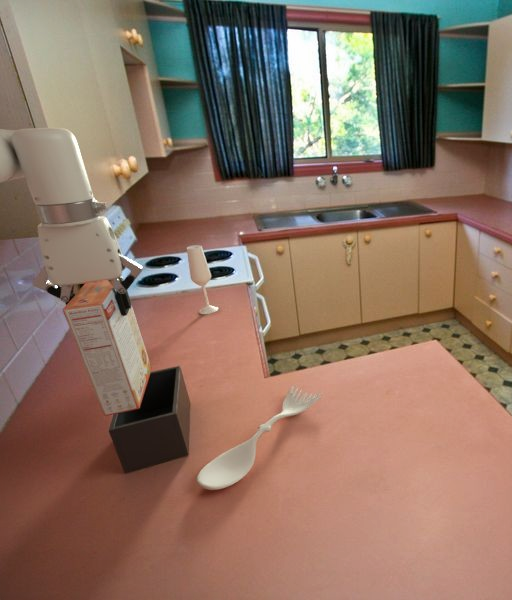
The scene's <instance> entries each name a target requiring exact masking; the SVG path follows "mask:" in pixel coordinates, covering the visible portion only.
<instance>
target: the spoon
mask: <svg viewBox="0 0 512 600" xmlns="http://www.w3.org/2000/svg"><path fill="white" fill-rule="evenodd" d="M295 388H296V384H293V385H292V386H291V387H290V388H289V390H288V392H287V394H286V395H285V398H284V399H283V401H282V405H281V412H280V413H278V414H275V415H274V416H272V417H271V418H270V419H269V420H267V421H266V422H264V423H261V424H259V425H258V430H257V432H256V433H254V435H253V436H251V437H250V438H249V439H248V440H247V439H246V441H244V442H242V443H240V444H238V445H236V446H234V447H232V448H230V449H228V450H226V451H224V452H223V453H221V454H219V455H218V456H216V457H214V458H213V459H212V460H210V461H209V462H208V463H207V464H205V465H204V466H203V467H202V468H201V470H200V471H199V473H198V474H197V477H196V481H197V484H198V485H199V486H200V487H201V488H203V489H205V490H208V491H217V490H222V489H223V490H224V489H226V488H229V487H230V486H232V485H234V484H236V483H237V482H239V481H241V480H242V479H243V478H244V477H245V476H246V475H247V474H248V473H249V471H251V469H252V468H253V466H254V464H255V459H256V454H257V453H256V452H257V451H256V450H257V442H258V440H259V438H260V437H261V435H263V434H264V433H267V432H270V431H271V430H272V429H273V428H272V426H273V425H274V424H275V423H276V422H278V421H279V420H281V419H284V418H289V417H293V416H296V415H300V414H302V413H304V412H305V411H308V409H310V407H312V406H313V405H314V404H315V403H317V402H318V401H319V400H320V399H321V397H322V395H323V392H320V393H317V392H316V393H313V392H311V393H310V394H309V395H308V391H306V392H305V393H303V389H300V391H298V390H299V387H297V388H296V389H295ZM302 393H303V394H302ZM301 394H302V395H301Z"/></svg>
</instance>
